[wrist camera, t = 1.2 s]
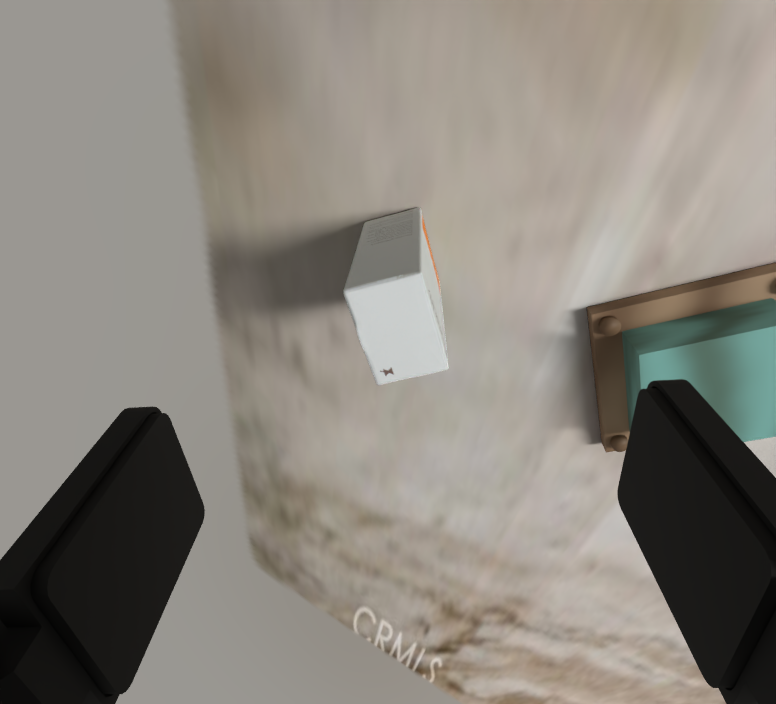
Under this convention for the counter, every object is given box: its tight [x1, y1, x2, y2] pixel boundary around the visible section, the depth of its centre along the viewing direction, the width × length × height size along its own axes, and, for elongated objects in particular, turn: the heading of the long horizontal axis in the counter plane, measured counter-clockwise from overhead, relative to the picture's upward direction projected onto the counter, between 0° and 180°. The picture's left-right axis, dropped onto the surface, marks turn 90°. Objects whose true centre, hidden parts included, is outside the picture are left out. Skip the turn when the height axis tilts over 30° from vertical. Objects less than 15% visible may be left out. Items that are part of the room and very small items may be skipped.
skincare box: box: [343, 208, 449, 385], centre depth 30 cm, size 6×4×12 cm
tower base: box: [587, 263, 776, 452], centre depth 37 cm, size 14×14×4 cm
